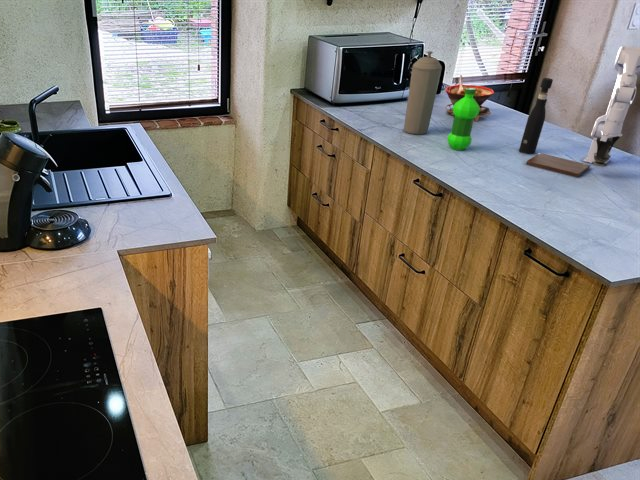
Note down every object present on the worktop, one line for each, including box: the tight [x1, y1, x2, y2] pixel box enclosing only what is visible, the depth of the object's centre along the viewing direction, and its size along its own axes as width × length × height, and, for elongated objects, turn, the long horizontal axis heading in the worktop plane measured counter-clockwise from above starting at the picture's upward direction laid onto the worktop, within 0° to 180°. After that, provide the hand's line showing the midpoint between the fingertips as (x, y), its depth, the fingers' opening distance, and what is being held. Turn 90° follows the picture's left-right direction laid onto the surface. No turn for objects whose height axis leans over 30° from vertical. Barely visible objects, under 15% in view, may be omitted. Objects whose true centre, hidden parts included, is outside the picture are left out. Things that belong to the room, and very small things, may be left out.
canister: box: [403, 50, 443, 135], centre depth 266 cm, size 13×13×35 cm
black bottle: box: [518, 77, 554, 155], centre depth 246 cm, size 6×6×30 cm
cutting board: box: [526, 152, 591, 178], centre depth 239 cm, size 14×20×2 cm
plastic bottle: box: [447, 88, 480, 151], centre depth 249 cm, size 10×10×25 cm
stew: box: [444, 74, 495, 122], centre depth 298 cm, size 28×24×16 cm
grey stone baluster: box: [591, 137, 613, 168], centre depth 226 cm, size 6×6×12 cm
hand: (602, 155), depth 227 cm, fingers closed on grey stone baluster, 6 cm apart
